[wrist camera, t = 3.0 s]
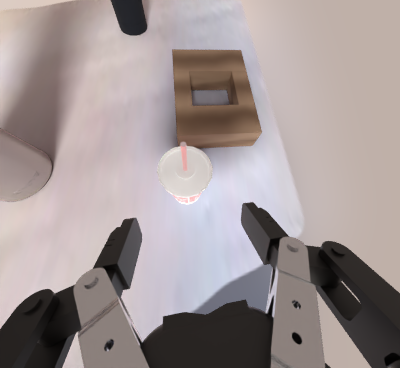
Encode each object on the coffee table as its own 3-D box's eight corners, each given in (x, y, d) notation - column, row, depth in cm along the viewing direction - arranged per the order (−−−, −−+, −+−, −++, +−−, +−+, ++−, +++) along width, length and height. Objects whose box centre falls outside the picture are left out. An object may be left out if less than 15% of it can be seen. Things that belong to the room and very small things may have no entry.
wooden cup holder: (252, 145, 28) (261, 132, 25) (178, 149, 27) (177, 135, 23) (235, 70, 34) (240, 50, 31) (174, 70, 33) (172, 49, 29)
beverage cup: (202, 172, 26) (216, 111, 13) (207, 207, 24) (227, 177, 11) (167, 175, 26) (143, 114, 12) (169, 211, 24) (143, 184, 10)
